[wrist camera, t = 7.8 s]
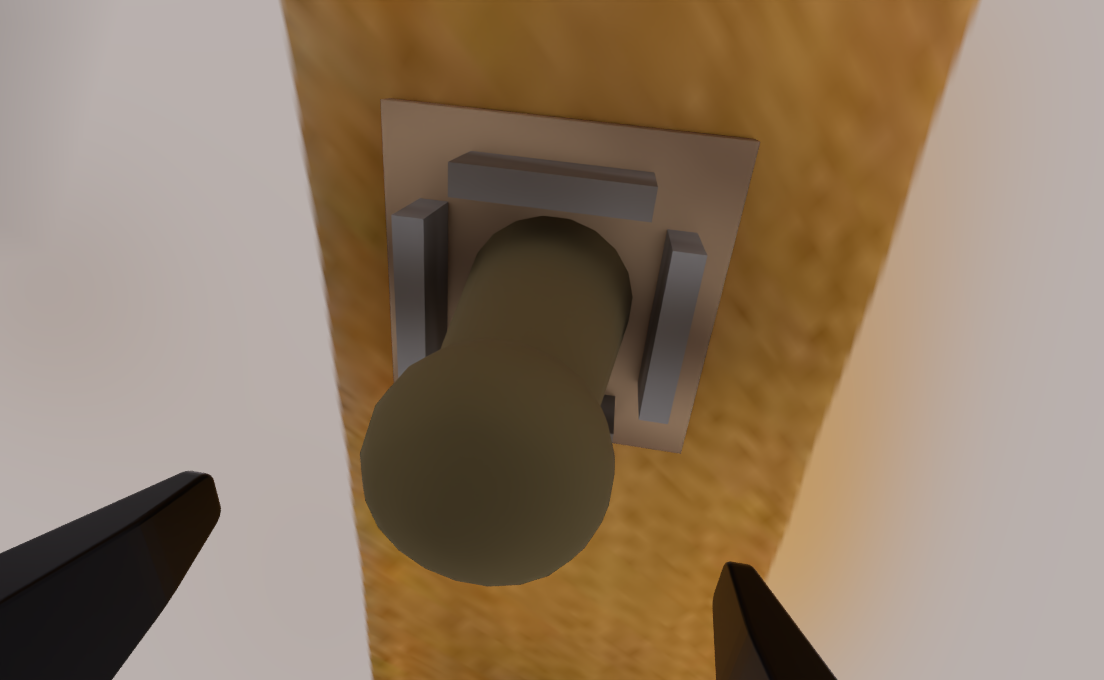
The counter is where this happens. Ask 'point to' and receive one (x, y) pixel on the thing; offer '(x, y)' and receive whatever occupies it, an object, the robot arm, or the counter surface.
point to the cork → (506, 413)
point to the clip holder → (588, 198)
